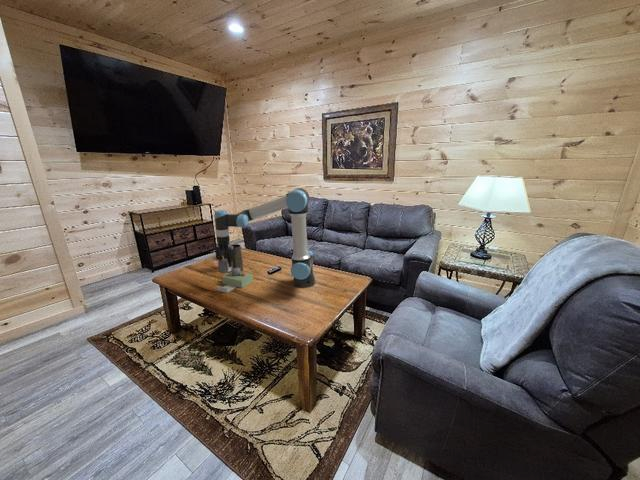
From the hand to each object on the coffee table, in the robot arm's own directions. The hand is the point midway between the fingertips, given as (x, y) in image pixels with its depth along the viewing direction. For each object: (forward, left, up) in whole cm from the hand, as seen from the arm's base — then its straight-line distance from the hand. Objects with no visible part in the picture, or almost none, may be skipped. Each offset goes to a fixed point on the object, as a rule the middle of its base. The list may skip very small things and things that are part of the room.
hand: (226, 270), depth 169 cm
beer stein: (+18, -26, -13) cm, 34 cm away
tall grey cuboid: (0, 0, 0) cm, 0 cm away
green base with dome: (0, -6, -13) cm, 14 cm away
